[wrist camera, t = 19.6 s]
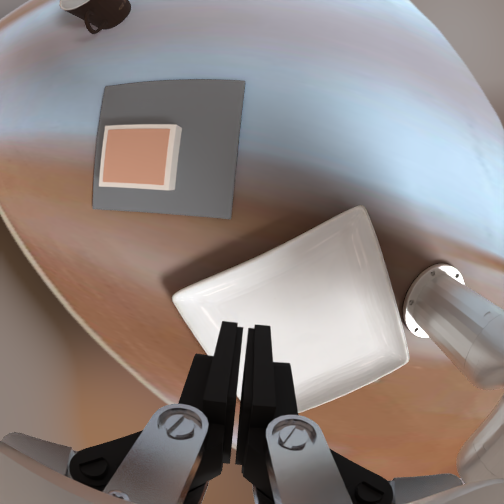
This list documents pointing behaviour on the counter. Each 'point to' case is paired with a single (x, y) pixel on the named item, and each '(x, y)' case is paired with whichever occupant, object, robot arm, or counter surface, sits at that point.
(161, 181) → the tile
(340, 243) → the square plate
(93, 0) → the coffee mug
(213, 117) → the mat
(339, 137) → the counter surface
